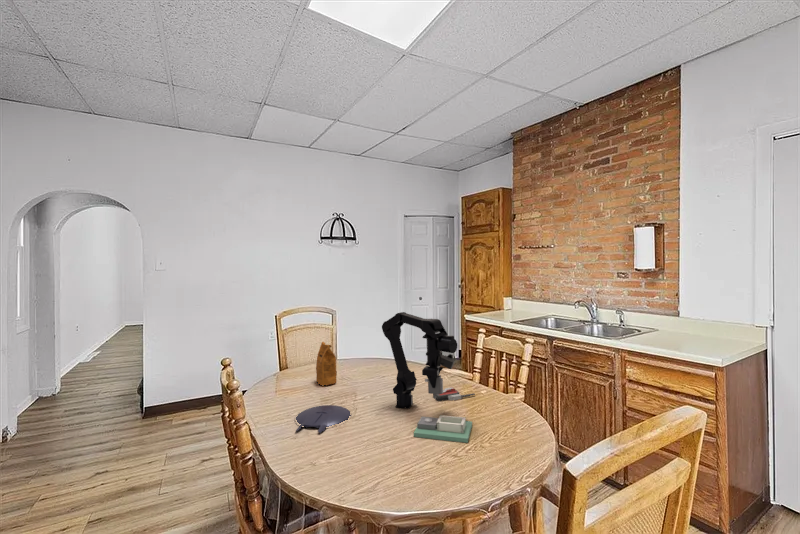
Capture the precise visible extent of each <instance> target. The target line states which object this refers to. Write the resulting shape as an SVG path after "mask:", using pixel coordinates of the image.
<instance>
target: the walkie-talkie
mask: <svg viewBox="0 0 800 534" xmlns="http://www.w3.org/2000/svg"><path fill="white" fill-rule="evenodd" d="M475 395H476V394H475V393H473V392H472V393H468V394H460V392H459V391H458V390H456V389H455V388H454V387H452V386H451V387H446V388H443V394H432V398H433V399H435V401H438V402H442V400H443V401H453V400H454V401H458V399H461V400H462V399H464V398H468V397H469V398H470V397H471V396H475ZM447 399H448V400H447Z"/></svg>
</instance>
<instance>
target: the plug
mask: <svg viewBox="0 0 800 534" xmlns="http://www.w3.org/2000/svg"><path fill="white" fill-rule="evenodd" d="M443 380H444V379H443V377H442V375H440V374H439V375H438V376H437V379H436V386H435V388H432V386H431V383H430V381H429V379H428V378H424V382H427V388H428V389H427V391H428V392H427V393H428V394H431V395H433V394H443V390H444V381H443Z"/></svg>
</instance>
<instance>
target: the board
mask: <svg viewBox="0 0 800 534" xmlns="http://www.w3.org/2000/svg"><path fill="white" fill-rule="evenodd" d="M466 418H467V417H462V416H454V415H453V416H452V415H444V414H443V415H442V414H440V415H439V417H434V416H433V417H431V416H421V417H420V419H419V421H418V422H417V424H416V425H417V426H416V428H415V430H414V432H413V437H414V438H421V439H423V438H424V439H429V440H430V439H431V440H440V441H446V442H447V441H448V442H457V443H465V444H468V443H469V439H470V436H471V432H472V428H473V420H472V421H469V420H466Z"/></svg>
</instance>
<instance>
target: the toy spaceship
mask: <svg viewBox="0 0 800 534" xmlns="http://www.w3.org/2000/svg"><path fill="white" fill-rule="evenodd" d="M350 412H351V411H350V410H349V409H348V408H346V407H344V406H339V405H335V404H334V405H332V404H325V405H324V404H323V405H317V406H313V407H309V408H306V409H304V410H302V411H301V413H300V412H299V413H298V414H297V415H298V416H297V415H296V416H297V417H296V416H295V417H296V420H297V422H298V423H299V424H301V425H300V426H299V427H298V426H297V428H296V430H295V431H296V432H298V431H299V430H300V429H302V428H301V427H302V426H304V427H306V428H309V427H310V428H311V427H312V428H313V427H314V428H316V429H318V428H319V429H318V430H317V432H318V433H319V434H321V432H322V431H323V432H325V431H326V429H325V428H326V427H329V426H332V425H335V424H339V423H341V422H343V421H345V420H348V418H349V416H351V417H352V414H351V415H350ZM348 421H349V420H348ZM323 432H322V433H323Z"/></svg>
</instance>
